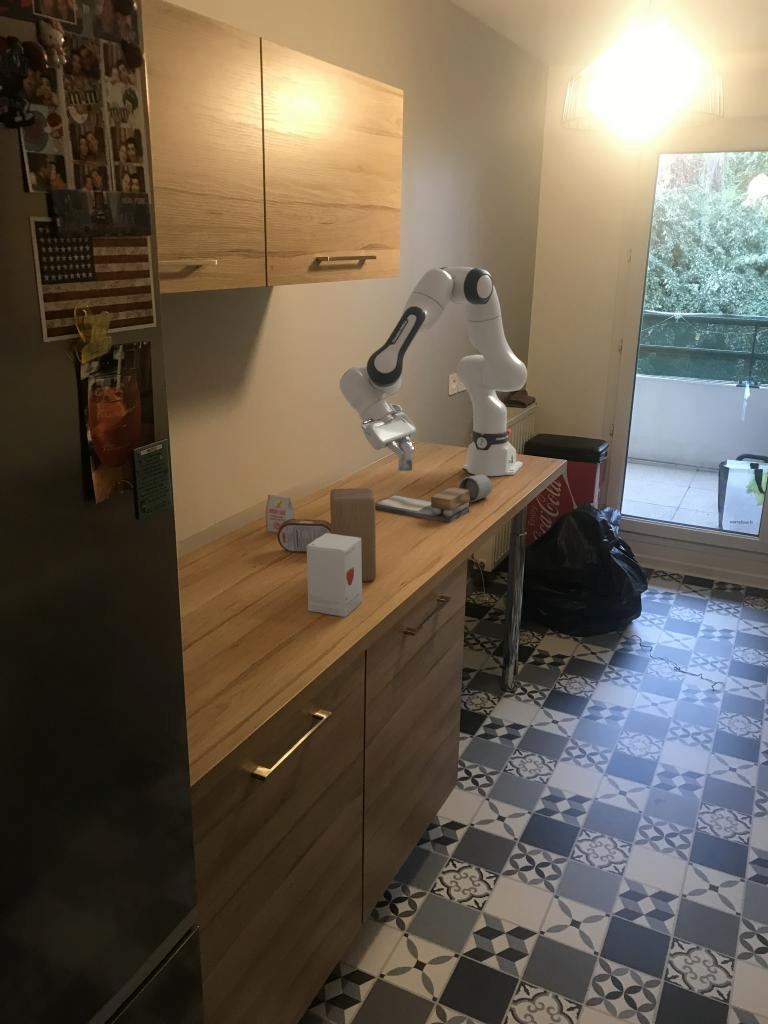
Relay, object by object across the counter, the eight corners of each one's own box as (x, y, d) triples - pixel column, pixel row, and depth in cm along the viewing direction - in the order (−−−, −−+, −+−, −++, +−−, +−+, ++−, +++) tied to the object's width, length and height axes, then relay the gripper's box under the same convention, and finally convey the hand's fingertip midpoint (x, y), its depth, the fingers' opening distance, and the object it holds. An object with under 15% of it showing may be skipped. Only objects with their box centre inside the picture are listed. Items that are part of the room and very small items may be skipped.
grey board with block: (393, 498, 256) (393, 477, 254) (469, 511, 243) (469, 489, 241) (371, 508, 246) (371, 487, 244) (449, 522, 233) (450, 500, 231)
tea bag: (274, 527, 230) (272, 492, 227) (294, 531, 227) (293, 495, 224) (266, 531, 227) (264, 496, 224) (287, 535, 224) (285, 499, 221)
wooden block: (332, 568, 201) (329, 488, 195) (373, 566, 202) (372, 486, 196) (332, 583, 192) (330, 500, 185) (376, 582, 192) (375, 499, 186)
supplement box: (345, 618, 174) (343, 550, 169) (307, 611, 177) (304, 545, 173) (363, 602, 182) (362, 537, 177) (326, 595, 185) (324, 531, 181)
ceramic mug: (493, 498, 256) (494, 473, 253) (478, 504, 250) (479, 479, 247) (464, 492, 262) (464, 469, 260) (449, 498, 256) (449, 474, 254)
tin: (337, 550, 213) (336, 519, 210) (335, 554, 210) (335, 522, 207) (279, 549, 214) (278, 517, 212) (277, 553, 211) (275, 521, 209)
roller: (402, 466, 246) (402, 440, 244) (414, 468, 244) (414, 441, 242) (395, 469, 243) (395, 442, 241) (407, 471, 241) (407, 444, 239)
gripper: (365, 415, 234) (395, 454, 232) (402, 404, 250) (431, 440, 248) (352, 429, 237) (381, 467, 235) (390, 417, 254) (418, 453, 252)
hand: (407, 453), depth 242 cm, fingers closed on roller, 4 cm apart
